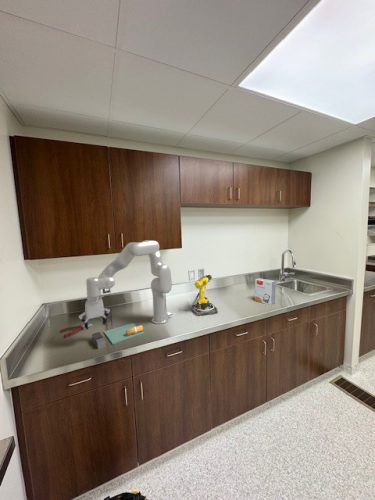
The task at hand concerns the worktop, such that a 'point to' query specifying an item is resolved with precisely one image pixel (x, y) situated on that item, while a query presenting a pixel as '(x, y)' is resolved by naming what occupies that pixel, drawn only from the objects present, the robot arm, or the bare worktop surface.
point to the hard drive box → (265, 291)
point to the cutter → (98, 340)
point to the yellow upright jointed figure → (203, 298)
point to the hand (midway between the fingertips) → (95, 326)
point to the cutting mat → (124, 333)
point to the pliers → (76, 329)
